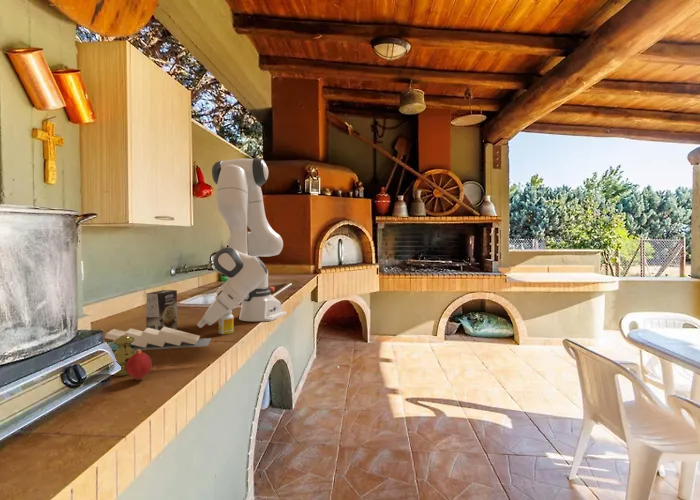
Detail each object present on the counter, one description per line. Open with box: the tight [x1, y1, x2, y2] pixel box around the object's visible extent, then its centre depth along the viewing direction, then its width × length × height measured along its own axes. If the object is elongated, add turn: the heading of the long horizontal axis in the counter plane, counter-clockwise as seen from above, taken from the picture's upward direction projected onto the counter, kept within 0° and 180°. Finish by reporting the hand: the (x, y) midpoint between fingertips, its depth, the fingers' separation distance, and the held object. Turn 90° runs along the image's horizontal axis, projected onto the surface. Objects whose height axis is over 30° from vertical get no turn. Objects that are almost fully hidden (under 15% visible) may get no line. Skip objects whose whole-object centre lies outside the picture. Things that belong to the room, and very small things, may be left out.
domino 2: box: [107, 341, 133, 351], centre depth 114 cm, size 2×5×12 cm
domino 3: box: [124, 327, 166, 347], centre depth 116 cm, size 2×5×12 cm
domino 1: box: [104, 328, 149, 348], centre depth 115 cm, size 2×5×12 cm
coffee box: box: [145, 289, 178, 330], centre depth 133 cm, size 9×6×16 cm
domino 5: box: [158, 327, 201, 345], centre depth 119 cm, size 2×5×12 cm
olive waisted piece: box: [112, 335, 136, 377], centre depth 97 cm, size 7×8×10 cm
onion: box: [126, 350, 153, 381], centre depth 92 cm, size 6×6×8 cm
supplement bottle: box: [218, 309, 235, 335], centre depth 133 cm, size 5×5×10 cm
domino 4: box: [141, 328, 182, 346], centre depth 118 cm, size 2×5×12 cm
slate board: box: [131, 337, 212, 351], centre depth 118 cm, size 25×9×1 cm, turn 105°
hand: (199, 325), depth 121 cm, fingers closed
